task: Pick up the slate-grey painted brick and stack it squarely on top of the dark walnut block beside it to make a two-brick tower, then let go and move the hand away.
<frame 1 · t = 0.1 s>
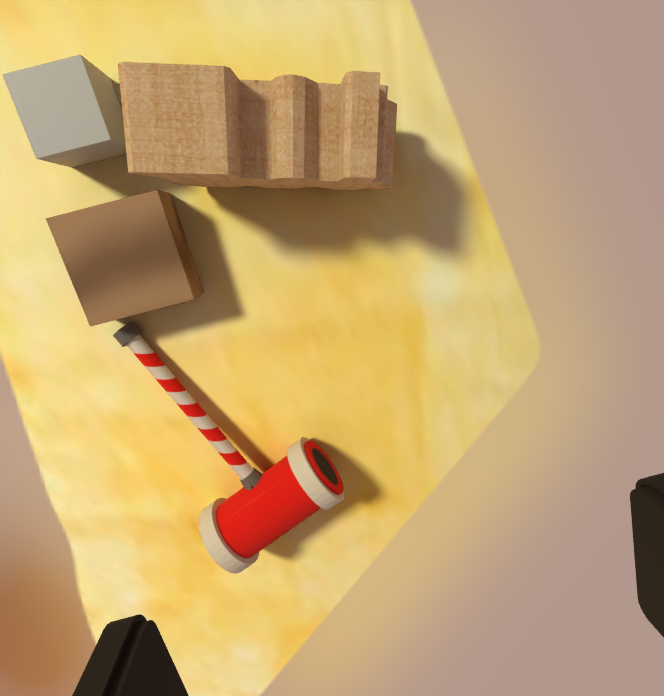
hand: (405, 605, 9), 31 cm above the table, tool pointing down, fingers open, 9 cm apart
walnut block: (140, 256, 37), on the table
toy train: (279, 151, 35), on the table
slate brick: (91, 124, 34), on the table
toy hammer: (231, 441, 42), on the table
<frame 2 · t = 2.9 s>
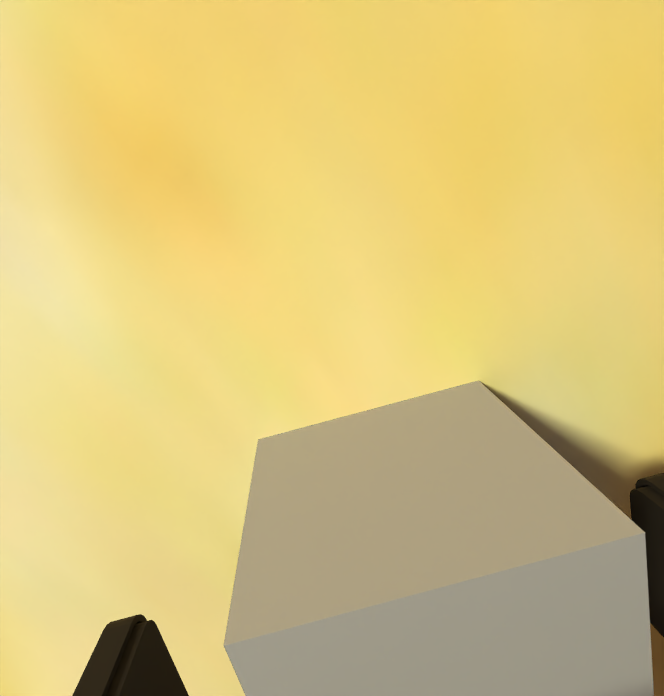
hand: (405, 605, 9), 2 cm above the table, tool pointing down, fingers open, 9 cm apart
slate brick: (391, 502, 11), on the table
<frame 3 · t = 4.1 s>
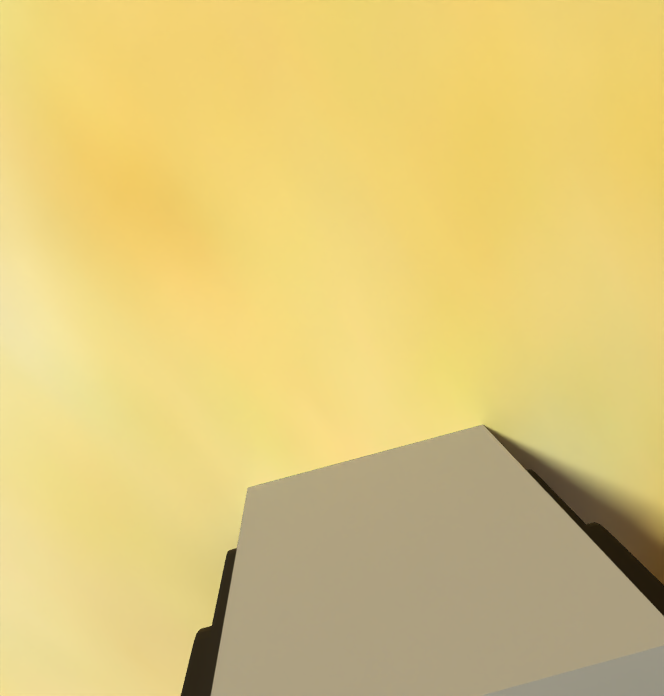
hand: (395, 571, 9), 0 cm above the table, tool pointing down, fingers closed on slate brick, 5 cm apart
slate brick: (391, 554, 10), on the table, touching gripper
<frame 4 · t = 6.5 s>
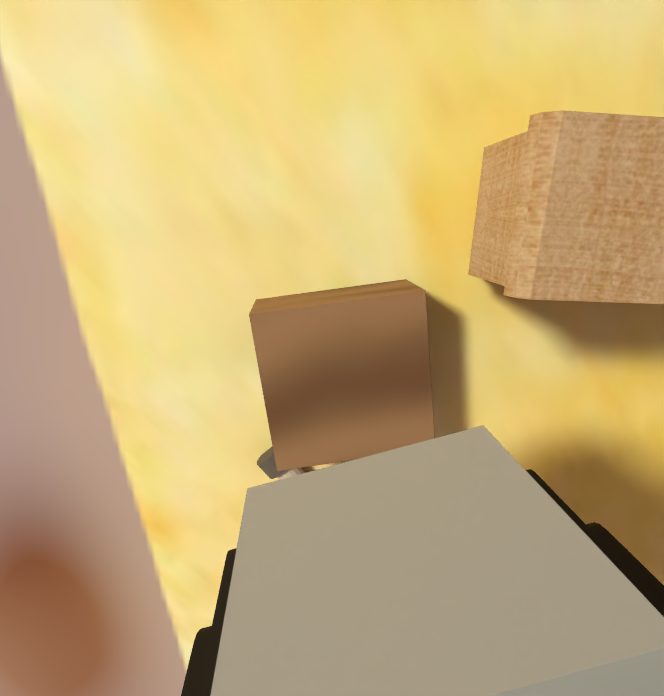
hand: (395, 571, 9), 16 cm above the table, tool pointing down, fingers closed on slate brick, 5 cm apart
walnut block: (339, 359, 25), on the table
toy train: (588, 220, 24), on the table
slate brick: (391, 555, 10), point 16 cm above the table, touching gripper
toy hammer: (404, 580, 30), on the table
when the fingers open (5 cm above the table, at t = 8.9 s): slate brick drops 1 cm, point 4 cm above the table.
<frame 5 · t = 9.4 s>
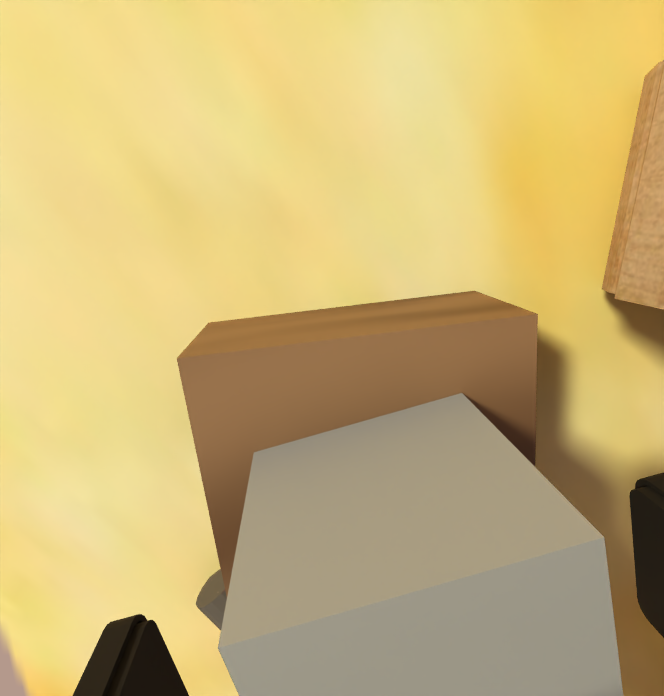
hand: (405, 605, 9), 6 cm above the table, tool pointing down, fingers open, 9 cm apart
walnut block: (354, 424, 15), on the table
slate brick: (383, 511, 11), point 4 cm above the table
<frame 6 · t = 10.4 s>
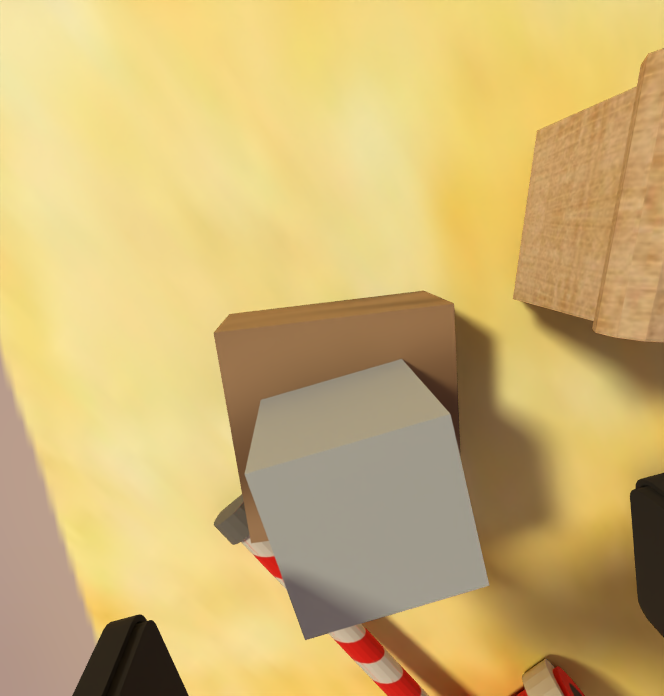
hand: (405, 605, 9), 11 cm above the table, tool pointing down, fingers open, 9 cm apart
walnut block: (337, 391, 20), on the table
toy train: (656, 230, 19), on the table
slate brick: (350, 443, 16), point 4 cm above the table
toy hammer: (407, 665, 24), on the table
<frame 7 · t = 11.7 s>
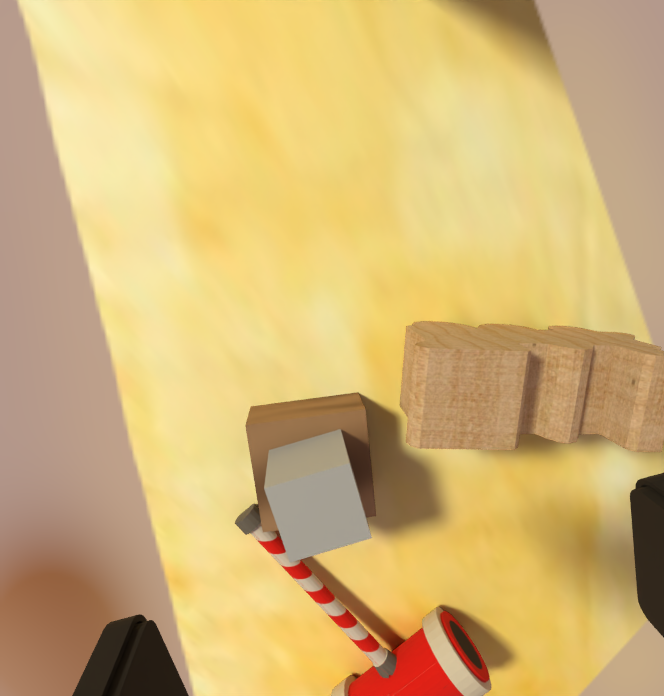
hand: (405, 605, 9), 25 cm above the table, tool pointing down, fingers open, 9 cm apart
walnut block: (311, 447, 35), on the table, touching slate brick
toy train: (489, 359, 34), on the table
slate brick: (315, 472, 31), point 4 cm above the table, touching walnut block
toy hammer: (353, 612, 38), on the table
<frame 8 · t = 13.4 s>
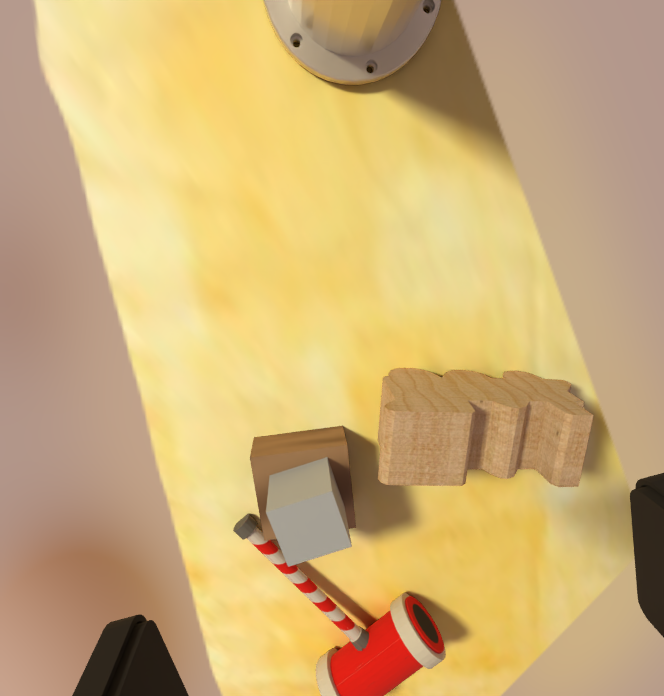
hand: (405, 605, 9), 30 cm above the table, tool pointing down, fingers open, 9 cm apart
walnut block: (303, 469, 42), on the table, touching slate brick
toy train: (454, 397, 41), on the table
slate brick: (307, 491, 38), point 4 cm above the table, touching walnut block
toy hammer: (335, 598, 46), on the table
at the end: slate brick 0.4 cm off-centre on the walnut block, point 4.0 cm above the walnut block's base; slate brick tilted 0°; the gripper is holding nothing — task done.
